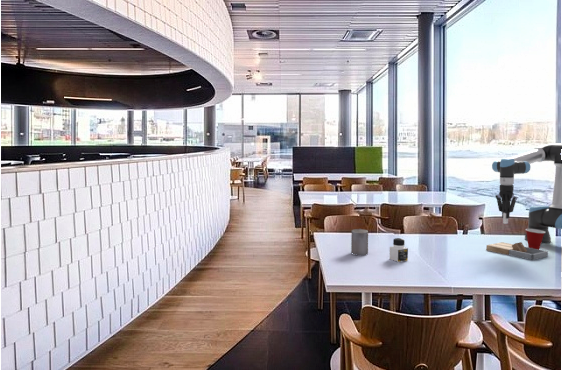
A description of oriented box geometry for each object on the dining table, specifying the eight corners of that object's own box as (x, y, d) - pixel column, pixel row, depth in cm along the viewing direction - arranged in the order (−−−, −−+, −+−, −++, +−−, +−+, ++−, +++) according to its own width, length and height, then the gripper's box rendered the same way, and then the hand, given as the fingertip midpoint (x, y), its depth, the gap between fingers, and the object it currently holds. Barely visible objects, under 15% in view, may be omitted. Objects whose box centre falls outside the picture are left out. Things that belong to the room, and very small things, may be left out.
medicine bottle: (398, 262, 245) (398, 240, 244) (389, 259, 252) (389, 238, 251) (407, 260, 249) (408, 239, 248) (398, 257, 255) (399, 236, 254)
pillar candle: (355, 250, 271) (355, 226, 269) (370, 253, 265) (371, 228, 264) (348, 254, 263) (348, 229, 262) (363, 256, 257) (363, 230, 256)
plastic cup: (547, 251, 270) (548, 232, 268) (527, 250, 272) (528, 231, 271) (540, 247, 280) (541, 228, 279) (521, 246, 282) (522, 227, 281)
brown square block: (517, 244, 268) (521, 242, 266) (523, 253, 265) (527, 251, 263) (511, 245, 265) (515, 243, 263) (517, 254, 262) (521, 252, 260)
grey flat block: (523, 251, 270) (523, 246, 270) (547, 256, 258) (547, 251, 258) (508, 254, 262) (509, 249, 262) (532, 260, 250) (533, 254, 250)
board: (502, 246, 282) (502, 242, 282) (524, 251, 270) (524, 246, 270) (486, 250, 274) (486, 245, 273) (508, 254, 262) (508, 249, 262)
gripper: (492, 184, 273) (491, 222, 275) (513, 185, 262) (512, 225, 264) (500, 183, 277) (499, 221, 279) (520, 184, 265) (519, 224, 268)
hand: (505, 223), depth 271 cm, fingers closed
